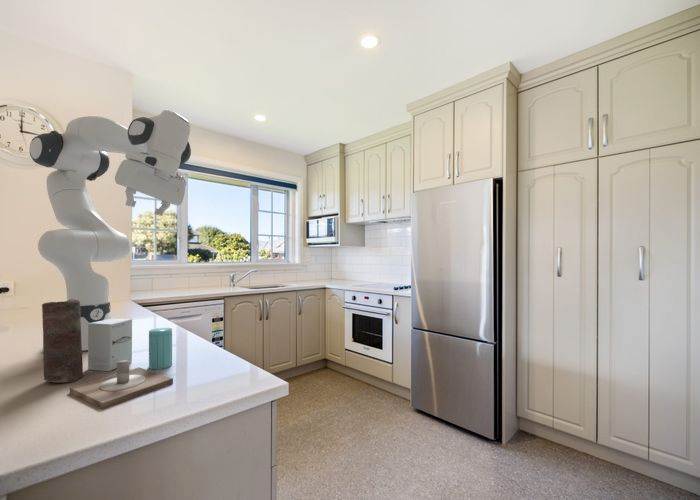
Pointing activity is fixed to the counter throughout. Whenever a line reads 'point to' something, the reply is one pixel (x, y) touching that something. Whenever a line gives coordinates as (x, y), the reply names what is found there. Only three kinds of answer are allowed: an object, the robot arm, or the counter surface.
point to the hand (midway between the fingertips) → (144, 210)
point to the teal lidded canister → (160, 348)
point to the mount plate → (120, 385)
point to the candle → (62, 341)
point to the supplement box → (109, 343)
